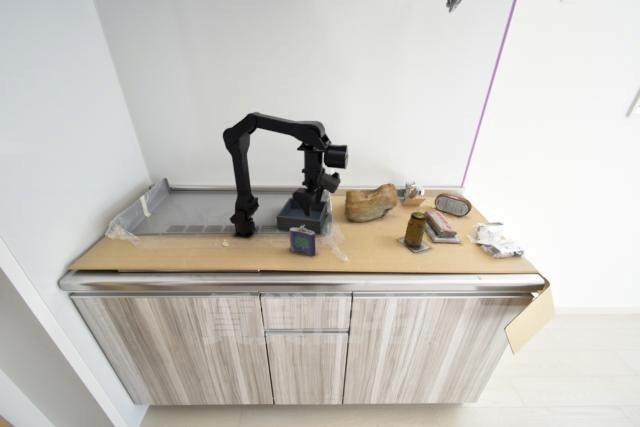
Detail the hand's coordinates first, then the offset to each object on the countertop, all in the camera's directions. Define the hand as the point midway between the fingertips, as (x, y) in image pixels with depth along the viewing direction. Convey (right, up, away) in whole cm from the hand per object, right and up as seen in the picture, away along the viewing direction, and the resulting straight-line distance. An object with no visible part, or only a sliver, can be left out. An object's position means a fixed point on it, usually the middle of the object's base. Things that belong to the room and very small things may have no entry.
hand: (313, 210), depth 81 cm
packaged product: (+50, -8, +17) cm, 53 cm away
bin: (-5, -4, +22) cm, 22 cm away
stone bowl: (+23, -1, +28) cm, 36 cm away
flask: (-4, -15, +3) cm, 15 cm away
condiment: (+37, -13, +8) cm, 40 cm away
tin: (+62, -1, +30) cm, 69 cm away
